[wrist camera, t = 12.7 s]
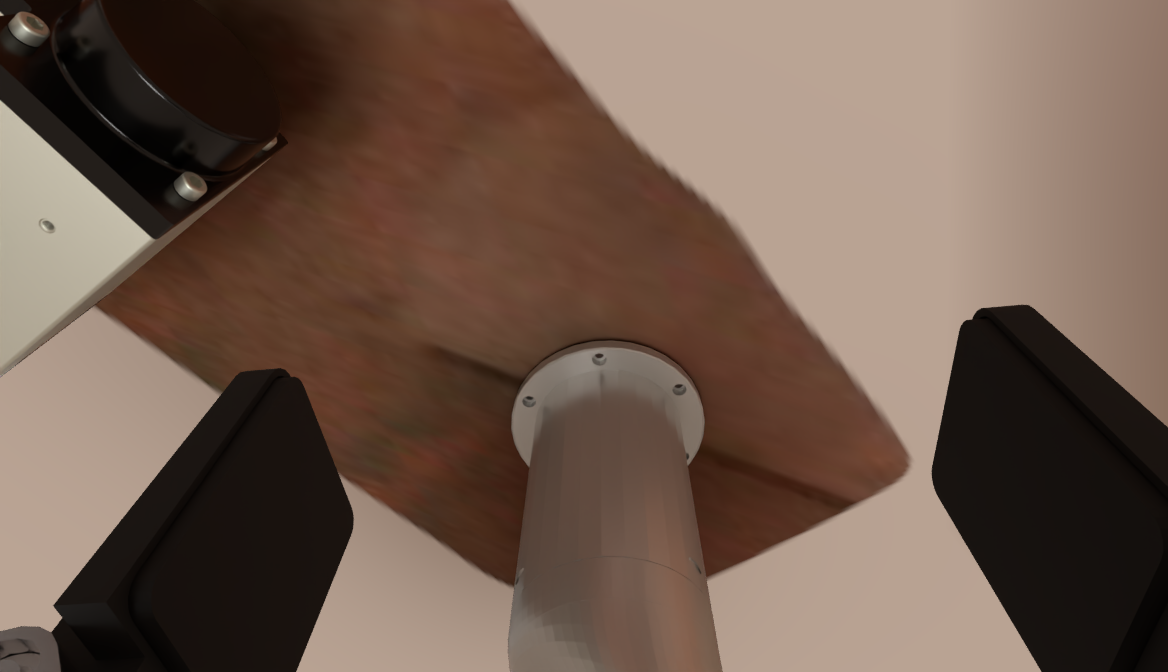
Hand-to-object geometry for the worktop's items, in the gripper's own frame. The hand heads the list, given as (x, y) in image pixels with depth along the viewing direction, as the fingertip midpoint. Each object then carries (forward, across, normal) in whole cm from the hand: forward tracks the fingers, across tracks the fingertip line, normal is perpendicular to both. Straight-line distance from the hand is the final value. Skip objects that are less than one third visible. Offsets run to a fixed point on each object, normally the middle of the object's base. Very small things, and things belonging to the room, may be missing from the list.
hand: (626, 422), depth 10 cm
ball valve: (+28, +22, 0) cm, 36 cm away
